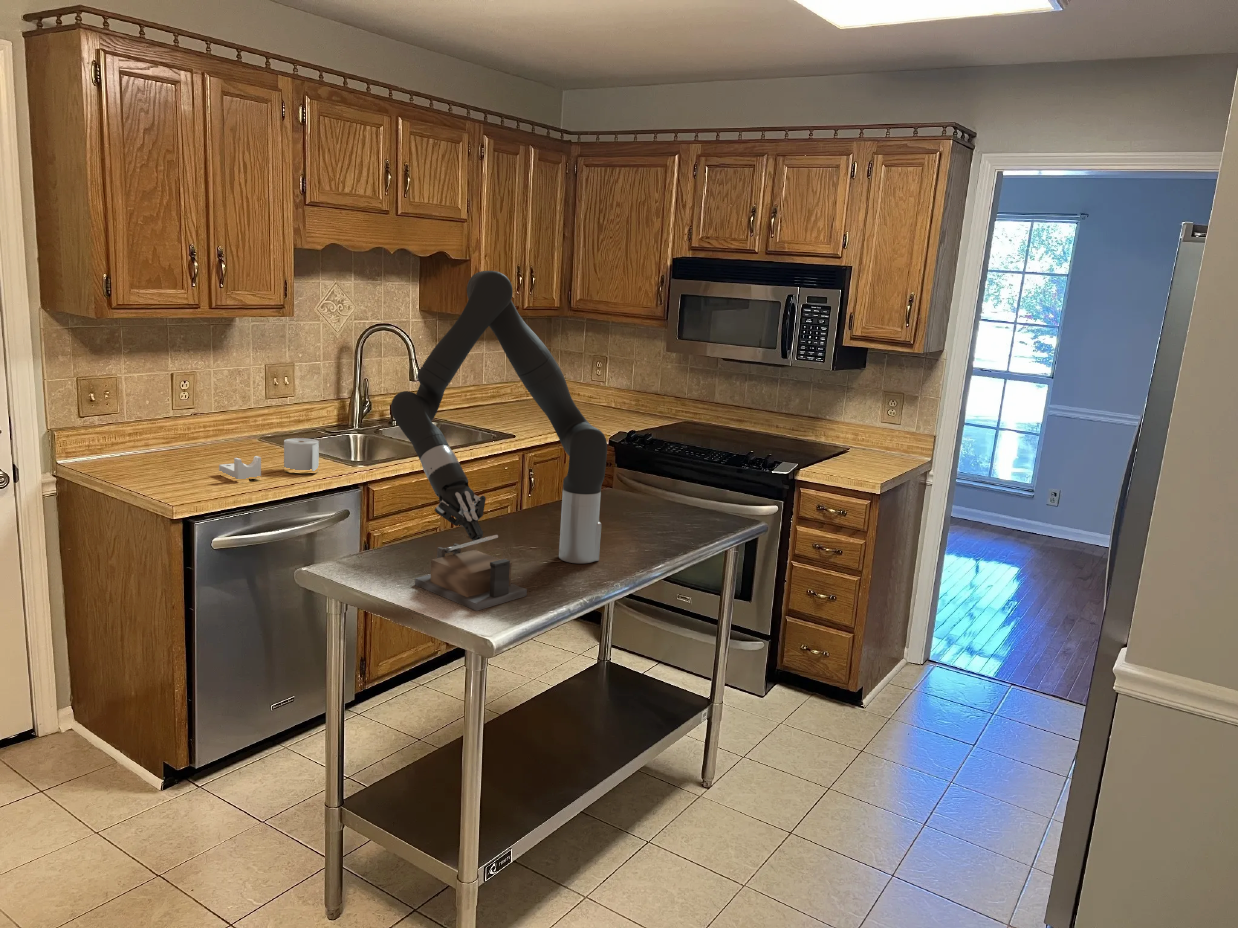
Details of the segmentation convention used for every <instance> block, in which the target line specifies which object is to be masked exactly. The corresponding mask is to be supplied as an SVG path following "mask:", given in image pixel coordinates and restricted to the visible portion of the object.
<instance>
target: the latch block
mask: <svg viewBox="0 0 1238 928" xmlns="http://www.w3.org/2000/svg"><path fill="white" fill-rule="evenodd" d="M458 545H460V544H459V543H453V544H452V546H458ZM445 548H446V547H442V546H439V547H437V549H436V557H435V558H434V559H433V558H432V559H431V560H430V574H427V575H423V576H419V577H415V578H414V585H415V586H416V587H419V588H422V589H424V590H426V591H428V592H431V593H434V594H435V595H438V596H440V597H443V598H445V599H448V600H450V601H452V602H455V603H457V604H459V605H462V606H464V607H465V608H468V609H471V610H473V611H476V612H477V611H481V610H484V609H487V608H491V607H494V606H497V605H501V604H504V603H507V602H512V601H514V600H517V599H521V598H525V597H527V593H528V592H527V591H528V589H527V588H524V587H522V586H519V585H516V584H514V583H512V581H511V580H512V579H511V578H512V565H513V564H512V563H513V562H511V560H509V559H506V558H499V557H496V556H493V555H490V554H488V553H486V552H482V551H479V550H476V549H472V550H467V551H463V552H461V551H462V550H461V549H462V548H460V549H456V551H454V552H452V554H450V555H445V554H446V553H445Z"/></svg>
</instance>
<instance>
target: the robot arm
mask: <svg viewBox="0 0 1238 928" xmlns="http://www.w3.org/2000/svg"><path fill="white" fill-rule="evenodd" d="M513 293H514V291H513V284H512V283H511V281H510V279H509V278H508V276H506V275H505V274H504V273H501V272H500V271H496V270H482V271H477V272H475V273H474V274H473V275H472V276H471V277H470V279H469V280H468V282H467V285H466V296H467V299H468V301H467V302H466V303H465V304H466V305H465V307H464V308H463V311H462V312H461V313H460V315H459V317H458V318H457V320H456V321H455V323H454V324H453V325H452V326H451V328H450V329H449V330H448V331H447V332H446V334H445V335H444V336H443V337H442V338H441V339H440V340H439V341H438V342H437V344H436V345H435V346H434V348H433V349H432V350H431V352H430V353H429V355H428V357H427V358H426V359H425V361H424V362H423V364H422V366H421V367H420V369H419V370H418V372H417V374H416V378H417V381H418V382H419V386H418V389H417V390H416V393H415V392H413V391H409V390H404V391H400V392H398V393H396V394H395V396H393V398H392V401H391V405H390V409H391V415H392V418H393V419H394V421H395V423H396V424H397V426H398V427H399V428H400V430H401V431H402V432H403V434H404V435H405V437H406V438H407V439H408V440H409V442H410V444H411V445H412V447H413V449H414V452H415V453H416V455H417V457H418V459H419V462H420V464H421V467H422V469H423V471H424V473H425V476H426V478H427V480H428V482H429V484H430V486H431V488H432V490H433V492H434V494H435V496H436V497H438V499H439V504H438V505H437V506H436V507H435V508H434V512H435V513H436V514H438V515H439V516H440V517H442V518H443V519H444V520H446V521H448V522H449V523H451V524H452V525H453V526H455V527H457V526H461V527H462V528H464V530H465V532H466V533H467V535H468V538H469V539H470V540H472V541H475V540H478V539H482V538H484V531H483V529H482V528H481V525H480V523H479V520H480V519H481V518H483V516H484V510H485V505H486V501H487V498H486V496H485V495H481V496H479V495H476V494H475V492H474V490H473V489H472V488H470V485H469V479H468V477H467V474H466V473H465V471H464V469H463V468H462V465H461V464H460V462H459V460H458V458H457V456H456V454H455V453H454V451H453V450H452V449H451V447H450V444H449V442H448V441H447V439H446V437H445V435H444V434H443V432H442V430H441V429H440V428H439V427H438V426H437V425H435V424H434V423H433V420H434V419H435V417H436V414H437V413H438V411H439V409H440V405H441V403H442V400H443V397H444V394H445V392H446V389H447V387H448V386H449V384H450V383H451V381H452V380H453V378H454V377H455V376H456V374H457V373H458V371H459V370H460V368H461V366H462V365H463V363H464V362H465V360H466V358H467V357H468V355H469V353H470V352H471V350H472V349H473V347H474V346H475V344H476V343H477V342H478V341H479V339H480V337H481V336H482V335H483V334H484V333H485V331H486V330H487V329H488V328H490V329H491V331H492V333H493V335H495V337H496V339H497V341H499V344H500V345H501V346H500V347H501V348H502V350H503V352H504V354H505V355H506V357H507V359H508V360H509V363H510V364H511V367H512V368H513V369H514V372H515V373H516V375H517V376H518V378H519V380H520V381H521V382H522V384H523V386H524V387H525V389H526V390H527V391H528V393H529V395H530V396H531V398H532V399H533V400H534V401H535V403H536V404H537V406H538V407H539V408H540V409H541V410H542V412H543V413H544V414H545V416H546V417H547V418H548V420H549V421H550V423H551V425H552V428H553V430H554V432H555V434H556V435H557V438H558V439H559V442H560V444H561V446H562V448H563V450H564V451H565V453H566V454H567V455H568V456H569V459H568V467H567V474H566V476H565V477H564V478H563V483H562V494H561V495H562V496H561V497H562V499H561V500H562V501H561V517H560V531H559V534H560V535H559V544H558V545H559V546H558V558H559V559H560V560H561V561H564V562H566V563H570V564H571V563H572V564H590V563H593V562H598V561H599V560H600V550H601V549H600V547H601V536H602V534H601V533H602V523H601V521H600V508H601V496H602V492H601V491H602V485H603V482H604V480H605V476H606V475H605V474H606V469H607V468H606V467H607V466H606V465H607V458H608V441H607V437H606V435H605V434H604V433H603V432H602V431H601V429H599V428H597V427H595V426H593V425H592V424H591V423H590V422H589V421H588V420H587V419H586V418H585V416H584V415H583V414H582V412H581V410H580V409H579V408H578V407H577V405H576V403H575V401H574V400H573V398H572V396H571V395H572V394H571V393H570V389H569V386H568V384H567V381H566V378H565V376H564V373H563V371H562V370H561V368H560V366H559V364H558V363H557V360H556V359H555V358H554V356H553V355H552V353H551V351H550V350H549V349H548V347H547V346H546V345H545V343H544V342H543V341H542V339H540V337H539V336H538V335H537V334H536V333H535V332H534V331H533V329H531V327H530V326H529V325H528V324H527V323H526V322H525V321H524V319H523V317H522V316H521V315H520V313H519V312H518V310H517V308H516V306H515V304H514V302H513V300H512V299H513V295H514V294H513Z"/></svg>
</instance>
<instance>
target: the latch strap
mask: <svg viewBox="0 0 1238 928" xmlns="http://www.w3.org/2000/svg"><path fill="white" fill-rule="evenodd" d="M497 538H499V535H498V534H494V535H489V536H485V537H482V538H481V539H478V540H475V541H469V542H465V543H462V544H459V545H458V546H453V545H452V546H448V547H444V548H445V554H449V553H453V552H454V551H456V549H460V548H461V549H462V548H466V547H470V546H473V545H477V544H481V543H484V542H488V541H491V540H494V539H497Z"/></svg>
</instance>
